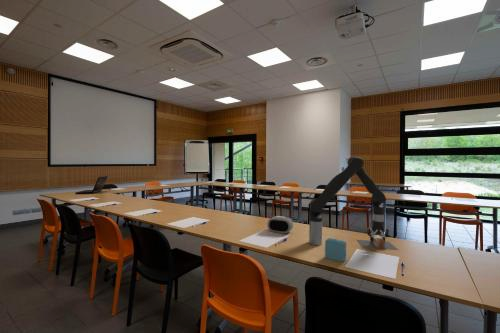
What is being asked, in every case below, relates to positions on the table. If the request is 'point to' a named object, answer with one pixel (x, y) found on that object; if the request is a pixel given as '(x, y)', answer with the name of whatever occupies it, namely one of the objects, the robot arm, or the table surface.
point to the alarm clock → (280, 224)
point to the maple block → (378, 241)
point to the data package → (335, 249)
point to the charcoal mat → (370, 245)
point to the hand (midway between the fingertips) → (377, 242)
